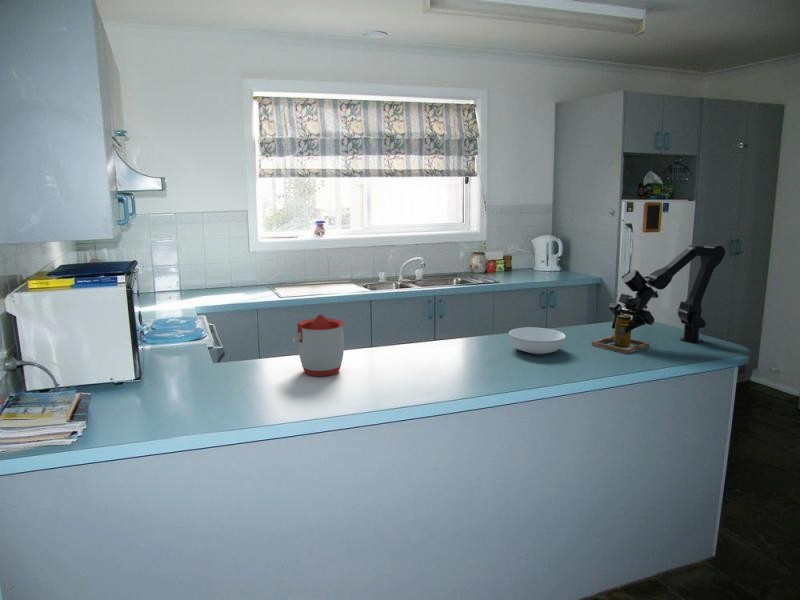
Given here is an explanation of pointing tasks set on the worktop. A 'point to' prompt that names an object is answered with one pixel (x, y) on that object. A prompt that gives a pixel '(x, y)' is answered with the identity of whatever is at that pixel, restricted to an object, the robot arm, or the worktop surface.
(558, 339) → the serving bowl
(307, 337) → the citrus juicer
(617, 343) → the condiment
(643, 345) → the walnut frame
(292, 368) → the worktop surface
